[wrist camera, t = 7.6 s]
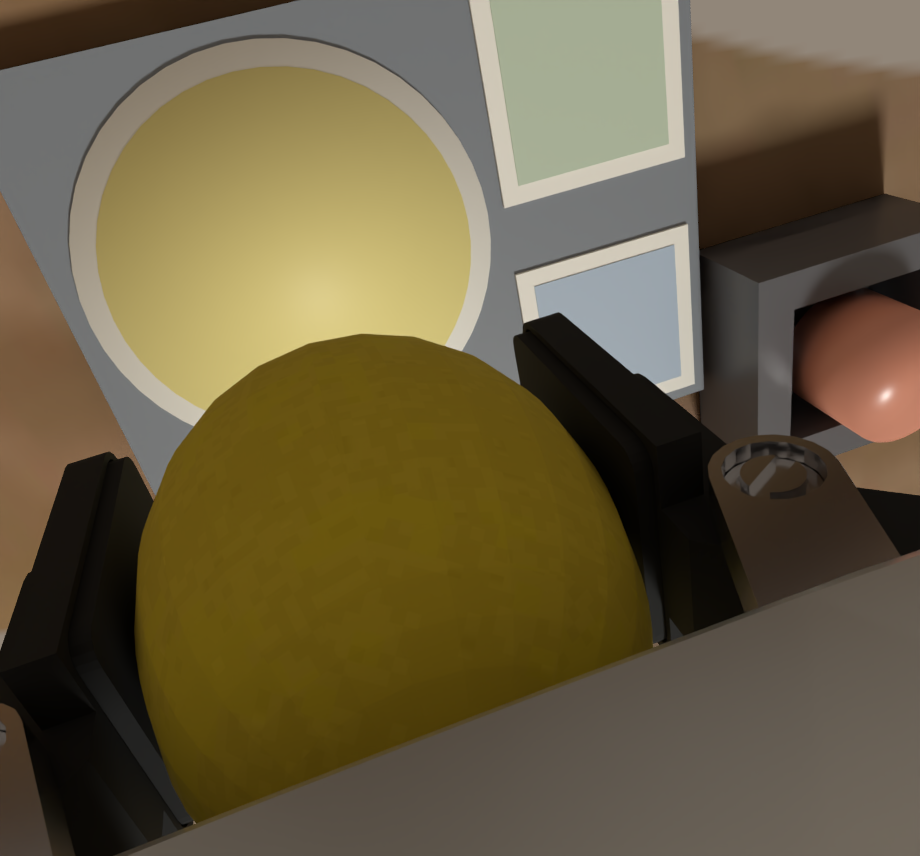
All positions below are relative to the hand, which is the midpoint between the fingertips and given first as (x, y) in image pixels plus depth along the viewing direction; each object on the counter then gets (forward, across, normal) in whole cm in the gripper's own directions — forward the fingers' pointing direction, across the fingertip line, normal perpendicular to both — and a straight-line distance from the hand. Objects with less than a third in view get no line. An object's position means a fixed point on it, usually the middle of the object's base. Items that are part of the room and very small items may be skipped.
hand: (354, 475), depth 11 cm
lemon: (+2, 0, 0) cm, 2 cm away
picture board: (+12, -3, +1) cm, 12 cm away
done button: (+9, -16, +7) cm, 20 cm away
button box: (+12, -16, +7) cm, 21 cm away
